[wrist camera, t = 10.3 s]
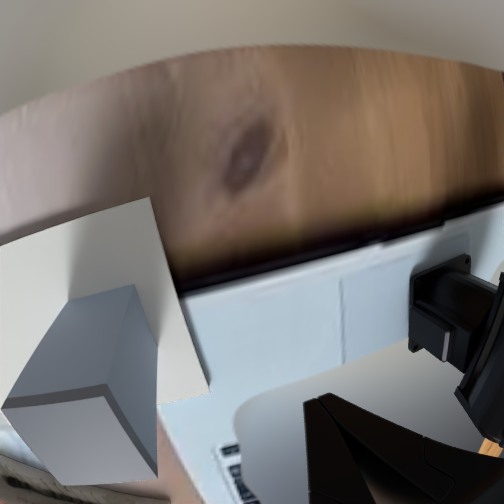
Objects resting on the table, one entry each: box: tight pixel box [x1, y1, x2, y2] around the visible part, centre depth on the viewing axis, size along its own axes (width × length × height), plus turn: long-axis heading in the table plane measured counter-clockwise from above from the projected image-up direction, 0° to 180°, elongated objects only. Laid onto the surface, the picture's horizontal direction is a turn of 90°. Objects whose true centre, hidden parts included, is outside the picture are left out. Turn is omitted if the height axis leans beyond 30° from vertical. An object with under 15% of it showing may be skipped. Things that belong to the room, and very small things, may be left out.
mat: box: [0, 197, 210, 425], centre depth 16 cm, size 16×12×1 cm
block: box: [1, 284, 158, 486], centre depth 12 cm, size 4×4×9 cm
